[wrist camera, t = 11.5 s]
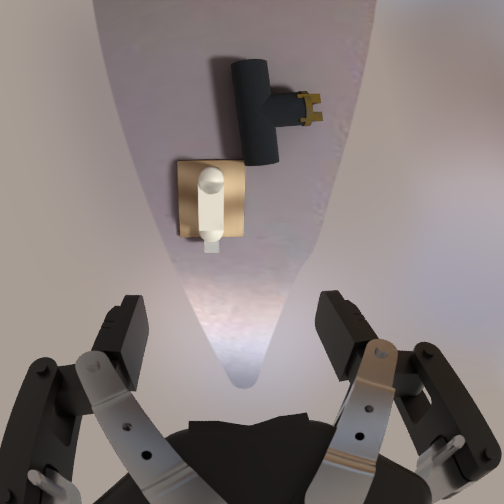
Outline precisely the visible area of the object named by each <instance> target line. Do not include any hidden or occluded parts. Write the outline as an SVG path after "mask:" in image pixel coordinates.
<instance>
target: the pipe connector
mask: <svg viewBox="0 0 504 504" xmlns="http://www.w3.org/2000/svg"><path fill="white" fill-rule="evenodd" d="M231 69H232V77H233V84H234V91H235V99H236V106H237V114H238V121H239V129H240V136H241V144H242V151H243V159H244V165H245V166H259V165H268V164H274V163H277V162H279V155H278V145H277V137H276V128H275V127H284V126H297V125H302V126H310V125H311V123H312V121H323V117H322V112H313V106H312V105H313V104H316V103H321V99H320V94H309V93H308V92H307V91H299V92H296V93H277V94H271V88H270V81H269V74H268V67H267V61H266V60H262V59H249V60H242V61H238V62H235V63H233V64H232V65H231Z"/></svg>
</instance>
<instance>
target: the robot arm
mask: <svg viewBox="0 0 504 504" xmlns="http://www.w3.org/2000/svg"><path fill="white" fill-rule="evenodd" d="M148 326H149V325H148V319H147V315H146V310H145V305H144V300H143V297H142V295H126V296H125V297H124V299H123V301H122V303H121V306H114V307H113V308H112V309H111V310H110V311H109V312H108V313H107V315H106V317H105V320H104V322H103V324H102V326H101V329H100V331H99V333H98V335H97V338H96V340H95V342H94V345H93V347H92V349H91V351H89V352H86V353H84V354H82V355H81V356H80V357H79V358H78V359H77V361H76V364H72V365H66V366H57V364H56V362H55V361H54V360H53V359H51V358H48V357H43V358H39V359H37V360H36V361H34V362H33V363H32V364H31V366H30V367H29V369H28V372H27V374H26V376H25V379H24V381H23V383H22V386H21V388H20V391H19V393H18V396H17V398H16V401H15V404H14V407H13V409H12V412H11V415H10V418H9V421H8V424H7V427H6V430H5V433H4V437H3V440H2V444H1V447H0V504H82V503H81V496H80V492H79V490H78V489H77V488H76V486H75V485H74V484H73V483H72V474H73V466H74V458H75V453H76V446H77V440H78V435H79V429H80V424H81V420H82V415H87V414H95V416H96V418H97V420H98V422H99V424H100V426H101V428H102V430H103V431H104V433H105V435H106V437H107V439H108V440H109V442H110V444H111V445H112V447H113V449H114V450H115V452H116V454H117V455H118V457H119V458H120V460H121V462H122V463H123V465H124V466H125V468H126V469H127V471H128V473H127V474H126V475H125V476H124V477H122V478H121V479H120V480H119V481H118V482H117V483H116V484H115V485H114V486H113V487H111V488H110V489H109V490H108V491H107V492H106V493H105V494H104V495H103V496H101V497H100V498H99V499H98V500H97V501H95V502H94V503H93V504H433V503H435V502H437V501H439V500H440V499H448V498H450V497H452V496H454V495H456V494H457V493H459V492H461V491H462V490H464V489H466V488H467V487H469V486H470V485H472V484H473V483H475V482H476V481H478V480H479V479H481V478H482V477H484V476H485V475H487V474H488V473H489V472H491V471H492V470H493V469H495V468H496V467H497V466H498V464H499V463H500V460H501V449H500V446H499V444H498V442H497V440H496V439H495V437H494V435H493V433H492V431H491V429H490V428H489V426H488V424H487V422H486V421H485V419H484V417H483V415H482V414H481V412H480V410H479V409H478V407H477V405H476V404H475V403H474V401H473V399H472V397H471V396H470V394H469V393H468V391H467V389H466V388H465V386H464V385H463V383H462V382H461V380H460V379H459V377H458V376H457V374H456V373H455V371H454V370H453V368H452V367H451V365H450V364H449V363H448V361H447V360H446V358H445V357H444V356H443V354H442V353H441V351H440V350H439V349H438V348H437V347H436V346H435V345H433V344H431V343H428V342H420V343H418V344H417V345H416V346H415V348H414V350H413V351H398V350H397V349H396V347H395V346H394V345H393V344H392V343H391V342H389V341H387V340H383V339H379V338H378V337H377V335H376V334H375V332H374V331H373V329H372V328H371V326H370V325H369V323H368V322H367V320H365V317H364V316H363V315H362V314H361V312H360V310H359V309H358V308H357V306H356V305H355V304H353V303H352V302H350V301H349V300H344V298H343V297H342V295H341V294H340V293H339V291H338V290H333V291H322V292H321V294H320V298H319V302H318V307H317V312H316V317H315V327H316V331H317V333H318V335H319V337H320V340H321V342H322V344H323V346H324V348H325V350H326V353H327V355H328V357H329V359H330V362H331V364H332V366H333V368H334V370H335V373H336V375H337V377H338V379H339V382H340V381H345V380H349V382H350V385H349V388H348V390H347V393H346V395H345V398H344V400H343V403H342V405H341V408H340V410H339V412H338V414H337V417H336V419H335V421H334V423H333V425H330V424H327V423H323V422H319V421H314V420H309V418H308V415H307V413H301V414H294V415H287V416H279V417H276V418H273V419H270V420H267V421H264V422H261V423H258V424H254V425H250V426H248V425H240V424H233V423H228V422H221V421H189V429H185V430H181V431H178V432H176V433H173V434H171V435H169V436H168V437H166V438H164V437H163V436H162V434H161V433H160V432H159V431H158V429H157V428H156V427H155V425H154V424H153V423H152V421H151V420H150V419H149V417H148V416H147V415H146V413H145V412H144V410H143V409H142V408H141V406H140V405H139V403H138V402H137V400H136V399H135V397H134V396H133V394H132V393H131V392H130V391H136V389H137V384H138V379H139V375H140V370H141V365H142V360H143V356H144V352H145V347H146V343H147V339H148V334H149V327H148ZM424 386H425V388H426V390H427V392H428V393H429V395H430V397H431V401H432V404H430V402H429V401H428V399H427V397H426V395H425V393H424V392H423V390H422V389H423V388H424ZM393 399H394V401H395V404H396V406H397V408H398V410H399V412H400V414H401V416H402V419H403V421H404V423H405V425H406V427H407V430H408V432H409V434H410V437H411V439H412V441H413V443H414V446H415V448H416V450H417V453H418V455H419V458H418V460H417V469H416V472H415V473H414V472H412V471H410V470H408V469H406V468H404V467H402V466H401V465H399V464H397V463H395V462H393V461H391V460H390V459H388V458H386V457H384V456H382V455H381V454H379V451H380V448H381V445H382V441H383V437H384V435H385V431H386V427H387V423H388V420H389V416H390V412H391V408H392V403H393Z"/></svg>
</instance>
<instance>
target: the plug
mask: <svg viewBox="0 0 504 504" xmlns="http://www.w3.org/2000/svg"><path fill="white" fill-rule="evenodd" d="M198 214H199V234H200V236H201V238H202V239H204V247H205V253H219V239H220V238H221V237H222V235H223V232H224V177H223V173H222V171H221V170H220V168H218V167H216V166H207V167H205V168H204V169H203V170H202V171H201V173H200V176H199V178H198Z"/></svg>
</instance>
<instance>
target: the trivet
mask: <svg viewBox="0 0 504 504" xmlns="http://www.w3.org/2000/svg"><path fill="white" fill-rule="evenodd" d="M207 166H216V167H218V168H220V170H221V171H222V173H223V177H224V232H223V235H222V237H235V236H243V227H244V191H245V165H244V160H195V161H178V200H179V222H180V237H201V236H200V234H199V214H198V178H199V176H200V173H201V171H202V170H203V169H204V168H205V167H207Z"/></svg>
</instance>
